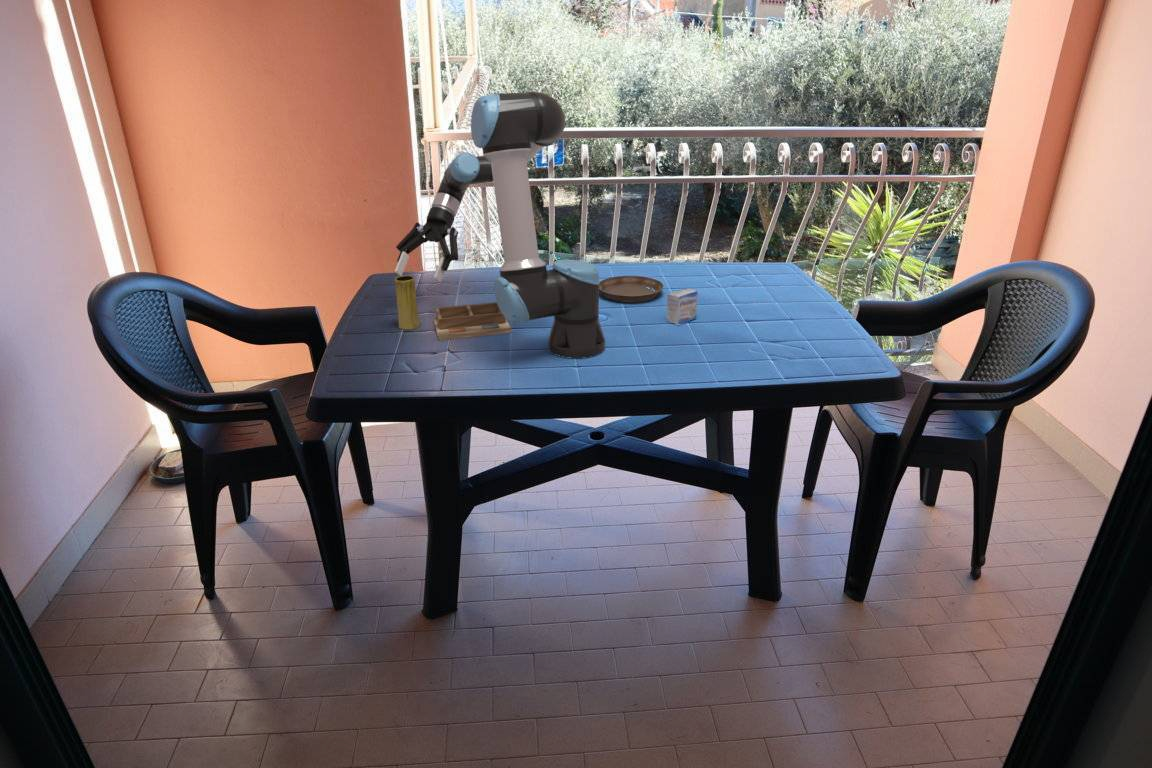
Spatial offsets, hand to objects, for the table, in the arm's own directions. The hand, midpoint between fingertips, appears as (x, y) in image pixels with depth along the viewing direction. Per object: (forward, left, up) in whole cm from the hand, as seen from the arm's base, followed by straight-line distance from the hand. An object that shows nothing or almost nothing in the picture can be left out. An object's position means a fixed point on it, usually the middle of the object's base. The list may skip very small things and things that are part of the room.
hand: (417, 276), depth 224 cm
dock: (-12, -13, -12) cm, 22 cm away
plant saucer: (+3, -65, -13) cm, 67 cm away
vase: (-6, +4, -13) cm, 14 cm away
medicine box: (-23, -72, -13) cm, 77 cm away
